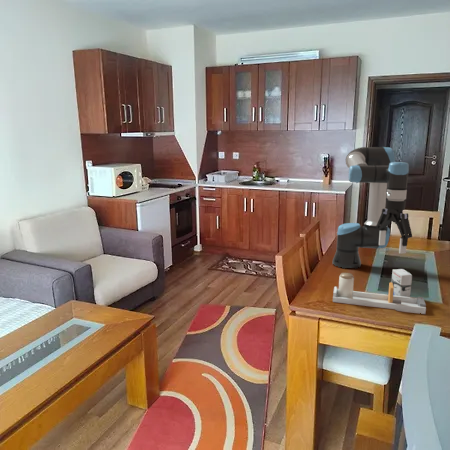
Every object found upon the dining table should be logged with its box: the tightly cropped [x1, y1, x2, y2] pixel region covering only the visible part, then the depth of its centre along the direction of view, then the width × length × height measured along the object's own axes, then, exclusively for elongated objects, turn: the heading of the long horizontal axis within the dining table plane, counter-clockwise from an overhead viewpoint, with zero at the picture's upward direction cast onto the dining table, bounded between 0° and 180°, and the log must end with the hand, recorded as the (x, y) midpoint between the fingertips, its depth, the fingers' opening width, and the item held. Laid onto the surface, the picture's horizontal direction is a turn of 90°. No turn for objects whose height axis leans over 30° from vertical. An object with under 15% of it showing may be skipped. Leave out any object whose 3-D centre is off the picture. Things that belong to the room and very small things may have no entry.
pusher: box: [387, 281, 401, 304], centre depth 166 cm, size 7×5×8 cm
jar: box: [338, 272, 355, 299], centre depth 172 cm, size 6×6×11 cm
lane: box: [332, 286, 427, 315], centre depth 168 cm, size 10×36×4 cm, turn 72°
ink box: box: [390, 268, 413, 297], centre depth 175 cm, size 8×5×12 cm, turn 5°
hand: (391, 249), depth 169 cm, fingers open, 13 cm apart
